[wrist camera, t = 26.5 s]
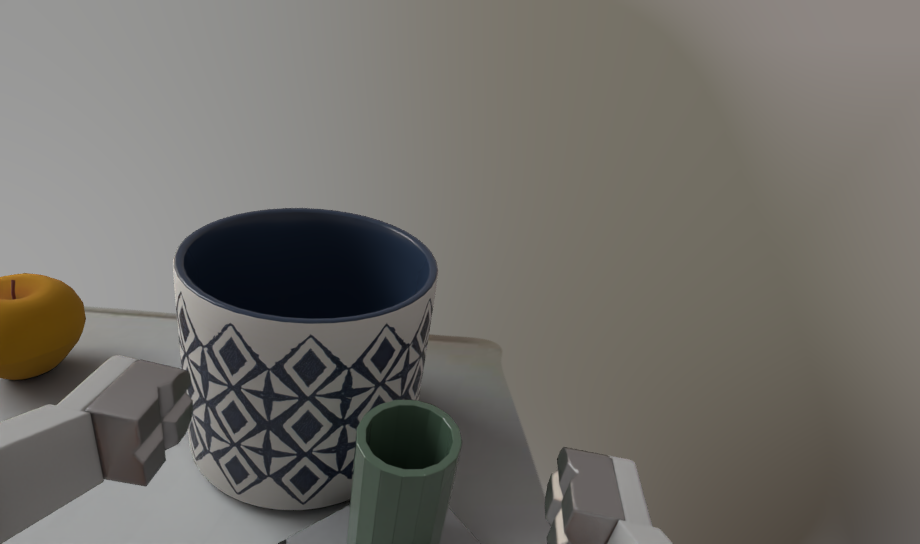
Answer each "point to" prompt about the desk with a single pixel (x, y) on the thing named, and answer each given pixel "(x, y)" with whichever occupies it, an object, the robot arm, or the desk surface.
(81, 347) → the desk surface
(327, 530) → the scale
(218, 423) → the planter
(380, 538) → the cup
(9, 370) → the apple
